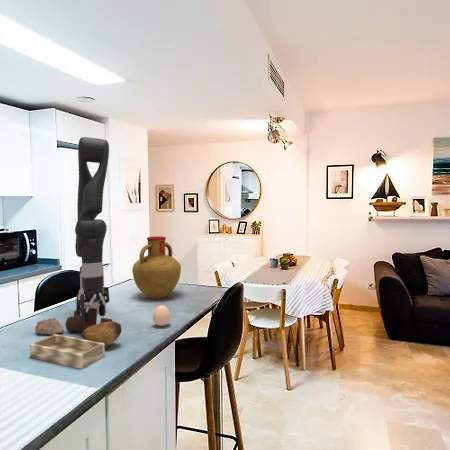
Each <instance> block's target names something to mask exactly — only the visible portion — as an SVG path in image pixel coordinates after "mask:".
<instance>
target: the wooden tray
mask: <svg viewBox="0 0 450 450" xmlns="http://www.w3.org/2000/svg"><path fill="white" fill-rule="evenodd" d="M105 348H106V347H105V344H104V343H99V342H94V341H89V340H83V338H78V337H72V336H66V335H62V334H58V333H57V334H55V335H49V336H48V337H45V338H43V339H40V340H38V341H35V342H33V343H31V344H29V356H30V358H33V359H37V360H41V361H46V362H50V363H53V364H57V365H63V366H65V367H66V366H67V367H71V368H76V369H80V370H82V369H84V368H87V367H88V366H89V365H92V364H93V363H95V362H97V361H99V360H100V359H102V358H105V356H106V355H105V354H106V351H105V350H106V349H105Z"/></svg>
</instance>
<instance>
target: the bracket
mask: <svg viewBox="0 0 450 450" xmlns="http://www.w3.org/2000/svg"><path fill="white" fill-rule="evenodd" d="M85 308H86V307H85ZM97 315H98V313H97V309H96V308H91V307H89V310H88V318H89V322H87V323H84V322H82V314H81V312H79V311H76V310H74V312H73V316H68V317H67V319H66V320H65V328H66V331H67V332H68V333H74V332H83V331H84V330H85V329H86V328H88V327H90V326H93V325H96V324H98V323H97V317H98V316H97ZM111 321H113V318H110V317H104V316H101V318H100V322H99V324H100V323H104V322H111Z"/></svg>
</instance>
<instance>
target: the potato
mask: <svg viewBox="0 0 450 450" xmlns="http://www.w3.org/2000/svg"><path fill="white" fill-rule="evenodd" d="M121 333H122V325H121V324H120V323H118V321H117V322H116V321H114V320H112V321H111V322H104V323H100V322H99V323H97V324H96V325H93V326H90V327H88V328H86V329H85V330H82V331H81V337H82V338H81V339H83V340H89V341H94V342H99V343H104V344H105V348H106V347H108V346H111V345H112V344H113V343H115V342H116V341H117V339H118V338H119V337H120V335H121Z"/></svg>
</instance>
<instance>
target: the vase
mask: <svg viewBox="0 0 450 450" xmlns="http://www.w3.org/2000/svg"><path fill="white" fill-rule="evenodd" d="M146 240H147V244H145V245H144V246H143V247H142V248H141V250H140V252H139V259H138V260H136V261H135V263H134V264H133V266H132V268H131V269H132V276H133V280H134V282H135V283H134V284H135V285H136V287H137V288H138V290H139V291H140V292H141V293H143V294H144V295H145V296H146V297H148V298H149V299H152V300H161V299H165V298H166V297H167V296H168V295H169V294H171V293H172V292H173V290H175V289H176V286H177V284H178V283H179V280H180V277H181V273H182V272H181V271H182V266H181V263H180V262H179V260H177V259H175V257H173V248H172V245H170V244H169V243H168V242H166V240H167V238H166V237H165V236H159V235H157V236H148V237H146ZM166 249H167V251H168V254H166ZM146 251H147V255H145V253H146Z"/></svg>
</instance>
